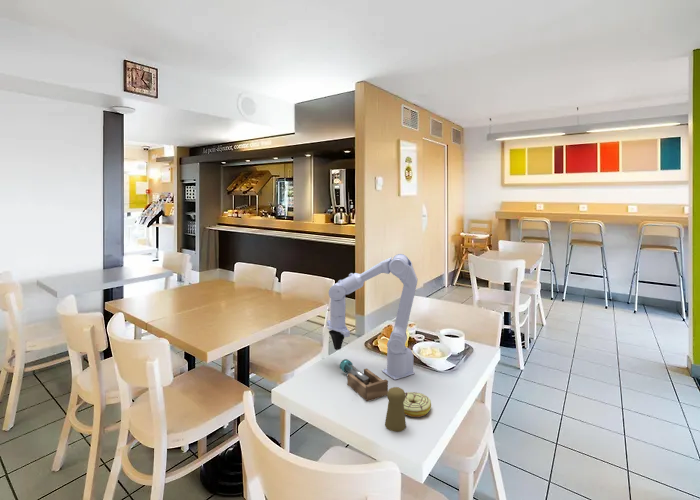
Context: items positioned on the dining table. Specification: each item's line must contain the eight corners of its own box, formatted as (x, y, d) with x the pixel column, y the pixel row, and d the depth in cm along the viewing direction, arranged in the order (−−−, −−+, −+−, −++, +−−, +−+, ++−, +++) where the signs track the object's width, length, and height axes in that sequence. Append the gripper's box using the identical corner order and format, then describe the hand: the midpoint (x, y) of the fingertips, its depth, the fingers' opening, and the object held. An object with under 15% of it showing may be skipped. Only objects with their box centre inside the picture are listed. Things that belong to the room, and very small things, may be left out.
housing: (347, 384, 131) (347, 371, 131) (366, 378, 136) (366, 365, 135) (367, 401, 121) (367, 387, 120) (387, 395, 125) (388, 380, 124)
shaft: (339, 371, 140) (339, 360, 139) (349, 369, 142) (349, 357, 141) (360, 389, 127) (361, 376, 127) (371, 385, 130) (371, 373, 129)
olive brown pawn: (405, 433, 105) (406, 396, 103) (383, 430, 106) (384, 393, 105) (406, 420, 111) (407, 385, 109) (386, 417, 112) (386, 383, 110)
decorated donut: (401, 397, 124) (401, 386, 124) (434, 405, 120) (434, 394, 119) (391, 413, 115) (391, 402, 114) (425, 422, 110) (426, 410, 110)
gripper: (319, 311, 146) (319, 344, 148) (338, 322, 134) (337, 358, 136) (335, 308, 150) (335, 341, 152) (354, 318, 138) (354, 354, 140)
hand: (337, 348), depth 144 cm, fingers closed
